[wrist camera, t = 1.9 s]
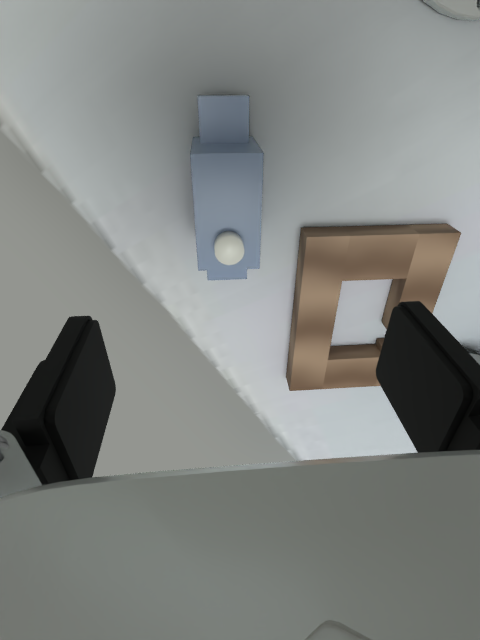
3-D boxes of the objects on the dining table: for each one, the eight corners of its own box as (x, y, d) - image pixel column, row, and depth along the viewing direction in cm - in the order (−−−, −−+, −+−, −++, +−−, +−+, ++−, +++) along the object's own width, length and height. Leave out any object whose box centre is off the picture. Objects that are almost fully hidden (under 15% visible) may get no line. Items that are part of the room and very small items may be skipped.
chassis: (300, 227, 29) (306, 237, 27) (446, 223, 29) (461, 232, 28) (286, 376, 38) (289, 390, 36) (398, 370, 39) (406, 384, 37)
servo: (190, 93, 23) (185, 101, 17) (252, 93, 23) (268, 100, 18) (201, 264, 30) (200, 311, 24) (249, 263, 30) (260, 308, 24)
